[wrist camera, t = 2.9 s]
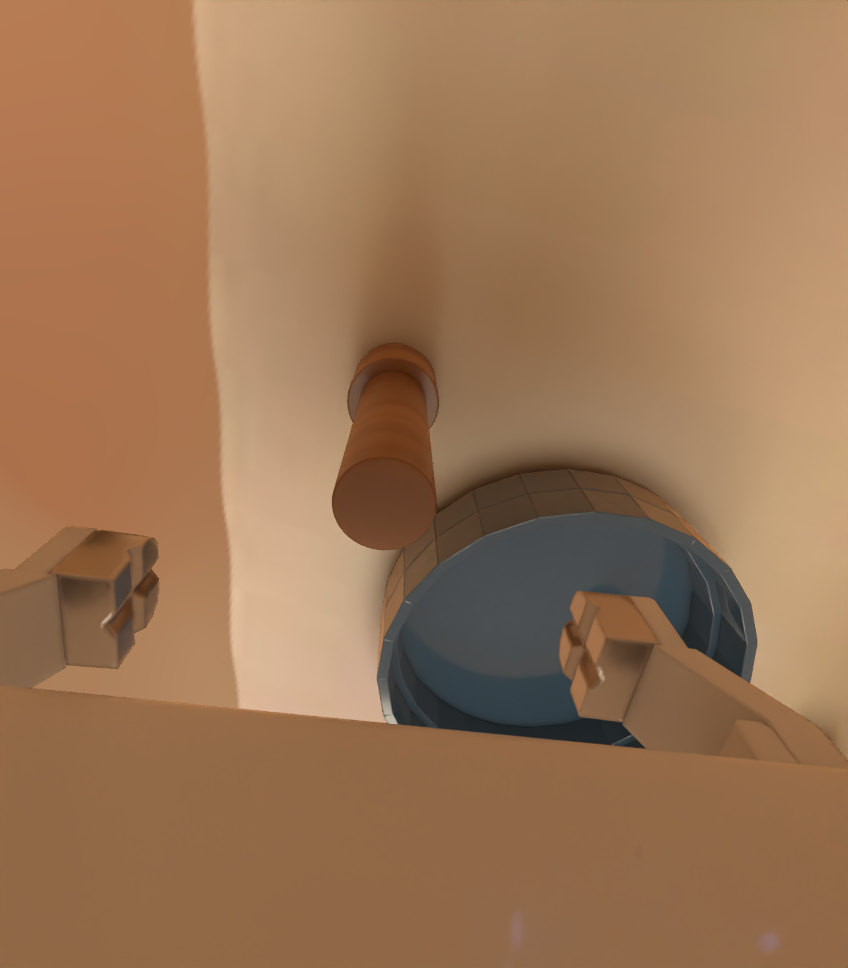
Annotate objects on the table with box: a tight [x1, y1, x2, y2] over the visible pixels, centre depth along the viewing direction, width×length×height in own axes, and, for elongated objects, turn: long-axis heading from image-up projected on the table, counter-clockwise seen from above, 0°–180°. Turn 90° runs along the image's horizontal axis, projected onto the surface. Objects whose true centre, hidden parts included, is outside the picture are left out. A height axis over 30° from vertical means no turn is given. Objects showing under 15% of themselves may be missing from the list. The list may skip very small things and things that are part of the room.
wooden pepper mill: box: [332, 344, 439, 550], centre depth 20 cm, size 4×4×12 cm
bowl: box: [377, 469, 757, 749], centre depth 28 cm, size 17×17×5 cm
